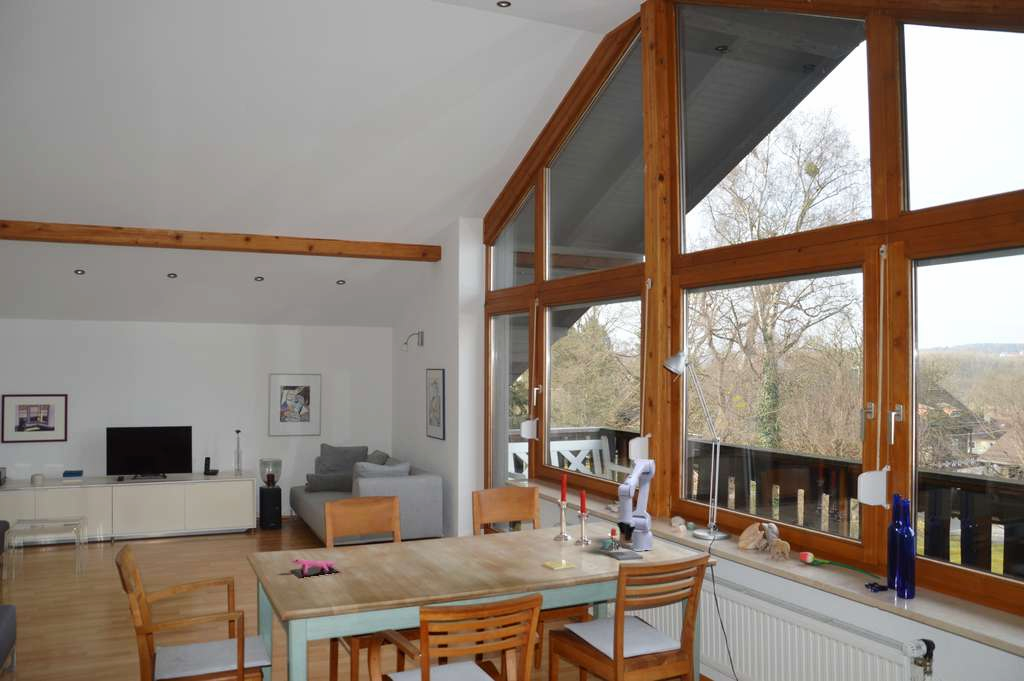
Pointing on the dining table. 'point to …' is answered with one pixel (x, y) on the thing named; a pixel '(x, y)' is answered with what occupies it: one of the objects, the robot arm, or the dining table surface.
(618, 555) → the base plate
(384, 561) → the dining table surface
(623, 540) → the brown cube
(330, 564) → the pink animal figurine
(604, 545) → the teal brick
